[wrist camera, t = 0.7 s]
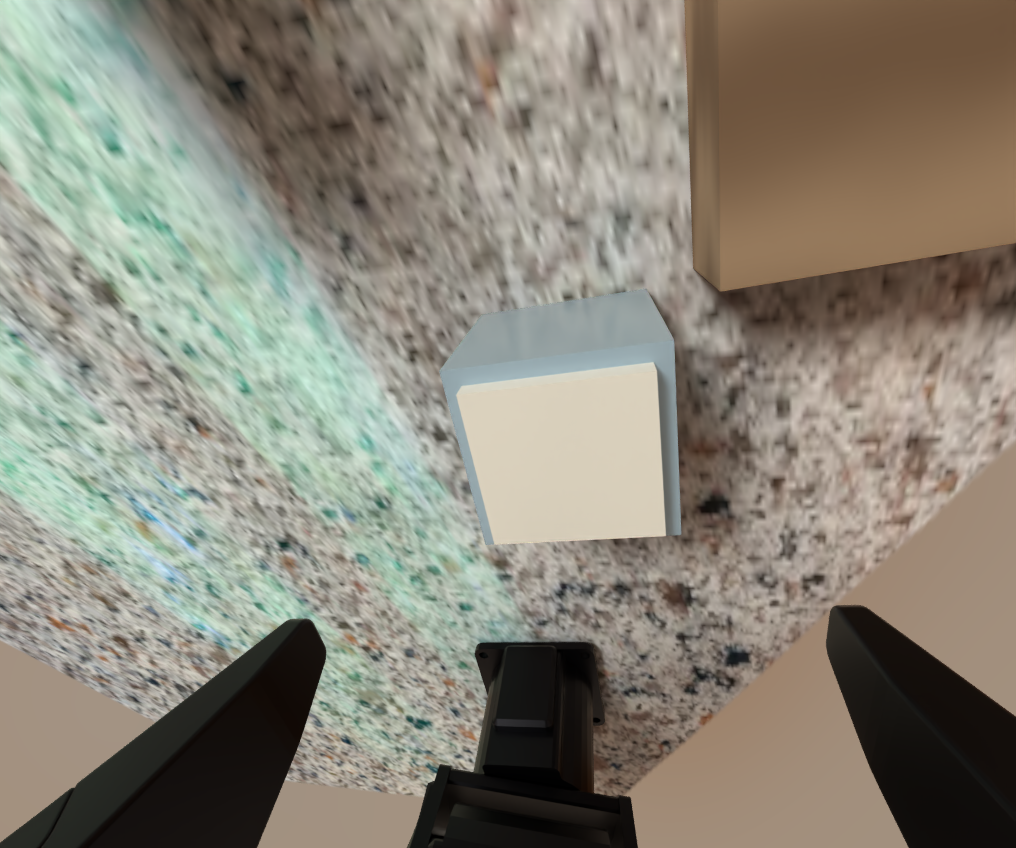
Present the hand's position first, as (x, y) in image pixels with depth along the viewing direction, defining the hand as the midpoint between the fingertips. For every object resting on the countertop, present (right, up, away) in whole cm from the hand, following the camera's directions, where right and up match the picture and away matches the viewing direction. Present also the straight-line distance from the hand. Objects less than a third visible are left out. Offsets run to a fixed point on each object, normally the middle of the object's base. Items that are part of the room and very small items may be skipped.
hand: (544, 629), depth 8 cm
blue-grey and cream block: (+2, +5, +10) cm, 12 cm away
